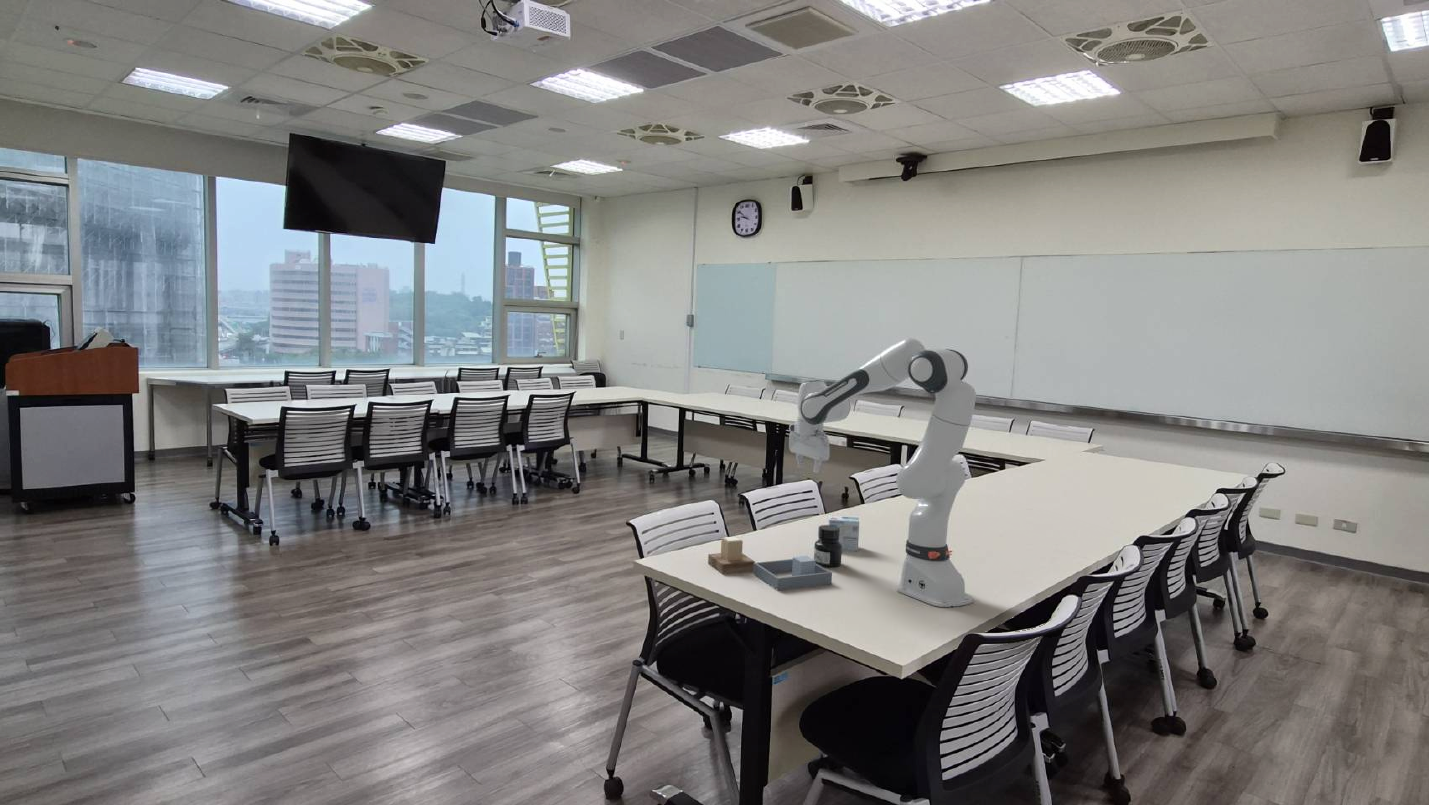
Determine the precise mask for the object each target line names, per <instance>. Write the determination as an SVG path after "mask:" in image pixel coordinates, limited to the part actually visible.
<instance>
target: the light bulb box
mask: <svg viewBox="0 0 1429 805" xmlns="http://www.w3.org/2000/svg"><path fill="white" fill-rule="evenodd" d="M827 522H828V523H827V525H832V526H837V527H839V528H840V534H839V540H838V541H839V542H840V543H841V545H842V551H850V552H858V551H859V539H860V538H859V537H860V518H859V517H858V516H845V515H844V516H842V515H841V516H839V515H828V521H827Z"/></svg>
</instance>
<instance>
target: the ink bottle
mask: <svg viewBox="0 0 1429 805" xmlns="http://www.w3.org/2000/svg"><path fill="white" fill-rule="evenodd" d="M839 534H840V528H839V527H837V526H832V525H828V524H824V525H823V524H822V525H819V526H818V533H817V536H818V539H817V540H816V541H815V542H814V547H813V560H815V563H816V564H818V565H819V566H821V567H823V568H835V567H839V566H841V564H842V556H843V555H842V554H843V550H842V545H841V543H840V542H839V541H838V540H839Z"/></svg>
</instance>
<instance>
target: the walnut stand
mask: <svg viewBox="0 0 1429 805" xmlns="http://www.w3.org/2000/svg"><path fill="white" fill-rule="evenodd" d="M707 558H708V559H707V563H708V565H710V566H711V567H712V568H714V569H715V570H716V571H718V572H719V573H720V572H721V573H720V574H722V575H725V574H726V573H727V574H735V573H736V572H737V573H744V572H746V573H747V572H753V563H756V561H755V560H754V559H752V558H751V557H748V556H747V555H746V554H744V553H743V552H742V559H741V560H731V561H727V560H726V559H724V558H723V557H721V552H719V553H710V554H709V553H708V556H707ZM727 574H726V575H727Z"/></svg>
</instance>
